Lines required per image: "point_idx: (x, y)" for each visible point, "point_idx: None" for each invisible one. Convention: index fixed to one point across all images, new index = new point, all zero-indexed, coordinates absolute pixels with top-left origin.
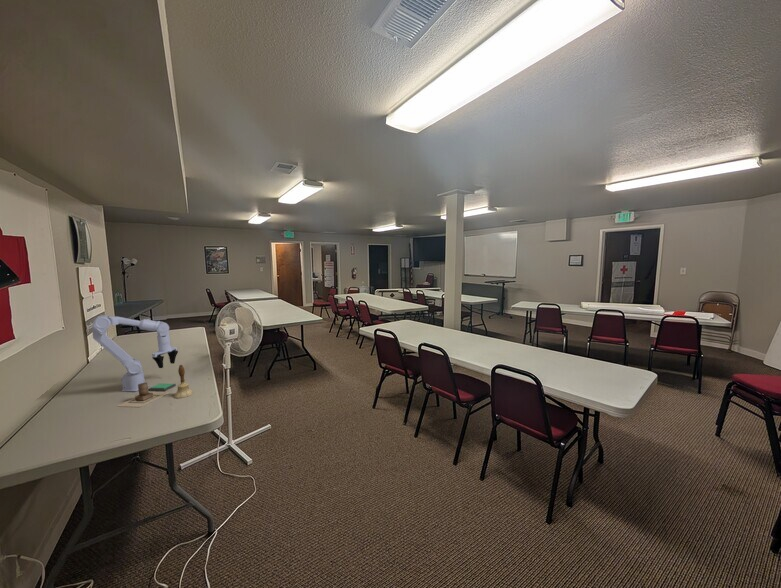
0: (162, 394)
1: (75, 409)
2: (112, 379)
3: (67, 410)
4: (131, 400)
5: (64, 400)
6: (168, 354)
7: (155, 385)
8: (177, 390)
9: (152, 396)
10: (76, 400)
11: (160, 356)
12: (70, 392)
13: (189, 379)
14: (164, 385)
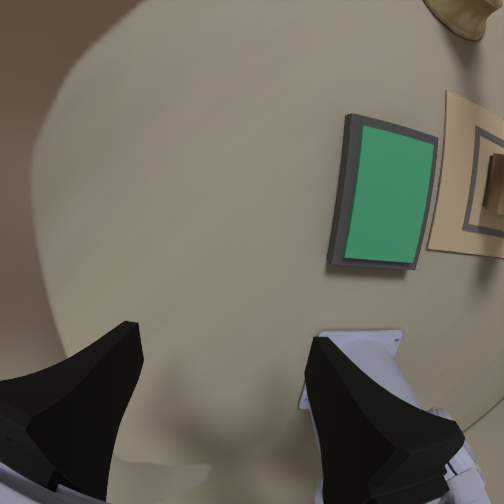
0: (469, 116)
1: (482, 381)
2: (216, 492)
3: (477, 394)
4: (500, 243)
5: None
6: (105, 472)
7: (381, 257)
8: (489, 15)
9: (493, 155)
10: None
11: (395, 481)
12: None
13: (200, 99)
14: (394, 177)
